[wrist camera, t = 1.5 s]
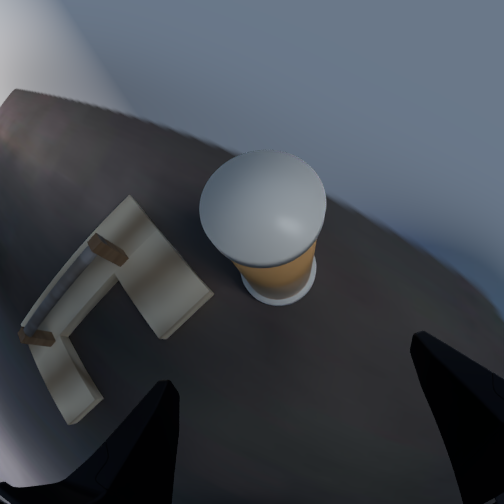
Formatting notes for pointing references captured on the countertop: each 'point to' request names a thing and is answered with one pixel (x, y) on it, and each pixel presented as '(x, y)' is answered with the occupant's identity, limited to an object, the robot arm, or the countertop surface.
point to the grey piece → (96, 287)
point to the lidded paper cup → (266, 222)
